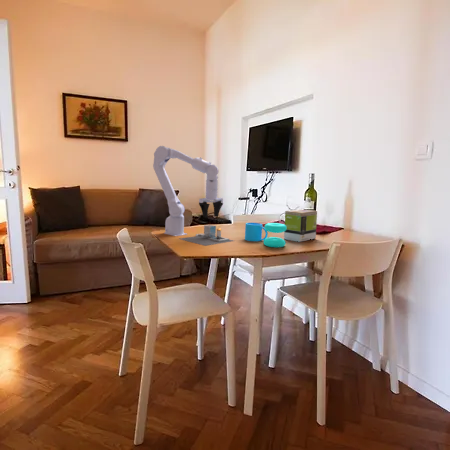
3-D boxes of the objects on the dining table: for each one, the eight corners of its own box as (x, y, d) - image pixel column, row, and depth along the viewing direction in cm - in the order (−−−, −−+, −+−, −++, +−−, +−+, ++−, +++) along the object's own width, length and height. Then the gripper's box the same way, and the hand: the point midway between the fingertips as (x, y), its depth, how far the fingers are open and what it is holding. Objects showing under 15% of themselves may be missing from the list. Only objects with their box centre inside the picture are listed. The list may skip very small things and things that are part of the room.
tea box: (299, 236, 184) (301, 208, 182) (316, 239, 177) (318, 210, 175) (282, 239, 173) (284, 210, 171) (299, 242, 166) (302, 212, 164)
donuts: (279, 222, 161) (291, 225, 152) (277, 243, 162) (289, 247, 153) (260, 222, 157) (271, 226, 148) (259, 244, 158) (270, 248, 149)
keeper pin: (215, 239, 162) (215, 229, 161) (218, 239, 163) (218, 228, 162) (218, 240, 160) (218, 229, 160) (221, 240, 162) (221, 229, 161)
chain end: (193, 236, 169) (193, 224, 168) (204, 234, 174) (204, 223, 173) (218, 242, 157) (219, 229, 156) (229, 240, 162) (229, 227, 161)
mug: (241, 240, 166) (242, 223, 164) (250, 238, 172) (251, 222, 171) (262, 244, 158) (263, 226, 157) (271, 241, 165) (272, 225, 164)
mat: (178, 239, 161) (178, 238, 161) (207, 235, 174) (207, 234, 174) (205, 246, 148) (205, 245, 148) (234, 241, 161) (234, 240, 161)
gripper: (206, 190, 160) (205, 218, 162) (227, 189, 171) (226, 216, 173) (196, 189, 165) (195, 217, 167) (217, 189, 175) (216, 215, 177)
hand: (210, 216), depth 170 cm, fingers open, 7 cm apart
